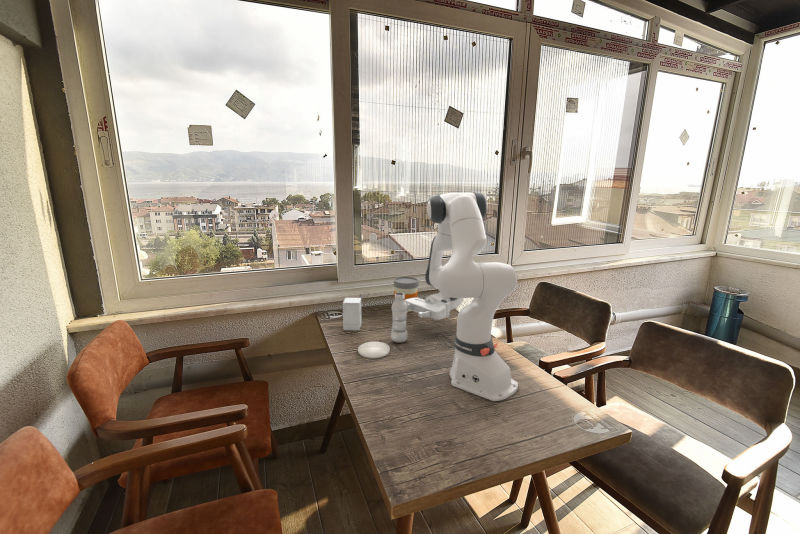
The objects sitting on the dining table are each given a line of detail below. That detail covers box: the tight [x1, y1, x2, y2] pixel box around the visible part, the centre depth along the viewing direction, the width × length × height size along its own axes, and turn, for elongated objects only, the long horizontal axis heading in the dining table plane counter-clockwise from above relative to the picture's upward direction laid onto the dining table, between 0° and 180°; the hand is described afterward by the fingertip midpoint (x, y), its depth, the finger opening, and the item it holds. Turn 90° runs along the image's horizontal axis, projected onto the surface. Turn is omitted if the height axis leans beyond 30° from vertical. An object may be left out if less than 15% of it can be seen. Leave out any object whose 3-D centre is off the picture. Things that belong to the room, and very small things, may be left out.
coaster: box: [357, 341, 391, 359], centre depth 143 cm, size 12×12×1 cm
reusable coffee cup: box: [393, 276, 420, 313], centre depth 186 cm, size 13×13×15 cm
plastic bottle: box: [390, 293, 408, 344], centre depth 149 cm, size 6×7×20 cm
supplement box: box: [342, 297, 362, 331], centre depth 163 cm, size 7×7×13 cm
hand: (411, 312), depth 153 cm, fingers open, 8 cm apart
